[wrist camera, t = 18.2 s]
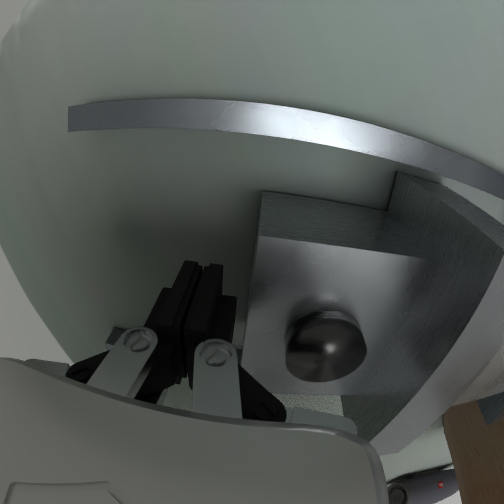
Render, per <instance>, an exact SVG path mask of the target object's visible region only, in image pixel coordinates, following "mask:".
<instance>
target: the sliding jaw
mask: <svg viewBox="0 0 504 504" xmlns="http://www.w3.org/2000/svg"><path fill="white" fill-rule="evenodd" d="M503 344H504V225H502V224H501V223H500V222H498V221H497V220H496V219H494V218H493V217H492V216H490V215H489V214H487V213H486V212H485V211H483V210H482V209H480V208H479V207H477V206H476V205H474V204H473V203H471V202H470V201H468V200H467V199H465V198H464V197H462V196H461V195H459V194H457V193H456V192H454V191H453V190H451V189H449V188H448V187H446V186H443V185H440V184H437V183H434V182H431V181H428V180H424V179H421V178H417V177H414V176H410V175H407V174H403V173H400V172H398V173H397V177H396V181H395V185H394V189H393V193H392V196H391V200H390V204H389V207H388V211H387V212H386V211H381V210H376V209H371V208H366V207H361V206H355V205H350V204H344V203H338V202H333V201H327V200H320V199H314V198H308V197H301V196H294V195H288V194H280V193H273V192H265V191H263V192H262V199H261V207H260V214H259V222H258V230H257V237H256V245H255V252H254V260H253V267H252V275H251V282H250V290H249V297H248V305H247V312H246V320H245V327H244V336H243V345H242V354H241V363H240V365H241V366H242V367H243V368H244V369H245V370H246V371H247V372H248V373H249V374H250V375H251V376H252V377H253V378H254V379H256V380H257V381H258V382H259V383H260V384H261V385H262V386H263V387H264V388H265V389H267V390H268V391H269V392H270V393H283V394H302V395H340V396H341V402H342V408H343V415H344V417H347V418H350V419H351V420H352V421H353V422H354V423H355V424H356V426H357V431H358V435H357V436H359V437H361V438H363V439H365V440H366V441H368V442H369V443H370V444H371V445H372V446H373V447H374V448H375V450H376V451H377V453H378V455H379V456H380V455H386V454H392V453H397V452H399V451H401V450H402V449H403V448H405V447H406V446H407V445H408V444H410V443H411V442H412V441H413V440H414V439H416V438H417V437H418V436H419V435H420V434H422V433H423V432H424V431H425V430H426V429H427V428H428V427H430V426H431V425H432V424H433V423H434V422H435V421H436V420H437V419H438V418H439V417H440V416H441V415H443V414H444V413H445V412H446V411H447V410H448V409H449V408H450V407H451V406H452V405H453V404H454V403H455V402H456V401H457V399H458V398H459V397H460V396H461V395H462V394H463V393H464V392H465V391H466V390H467V389H468V388H469V386H470V385H471V384H472V383H473V382H474V381H475V380H476V378H477V377H478V376H479V375H480V374H481V372H482V371H483V370H484V369H485V367H486V366H487V365H488V364H489V362H490V361H491V360H492V359H493V357H494V356H495V355H496V353H497V352H498V351H499V349H500V348H501V346H502V345H503Z"/></svg>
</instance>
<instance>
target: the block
mask: <svg viewBox="0 0 504 504" xmlns="http://www.w3.org/2000/svg"><path fill="white" fill-rule="evenodd" d="M443 420H444V434H445V437H446V440H447V444H448V447H449V450H450V454H451V458H452V461H453V465H454V469H455V473H456V477H457V482H458V486H459V491H460V496H461V501H462V504H504V419H503V420H501V421H499V422H497V423H494V424H492V425H489V426H486V423H485V421H484V418H483V416H482V413H481V411H480V408H479V406H478V403H477V401H476V400H474V401H471V402H467V403H463V404H459V405H454V406H451V407H450V408H449V409H448V410H447V411H446V412H445V413H444V414H443Z"/></svg>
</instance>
